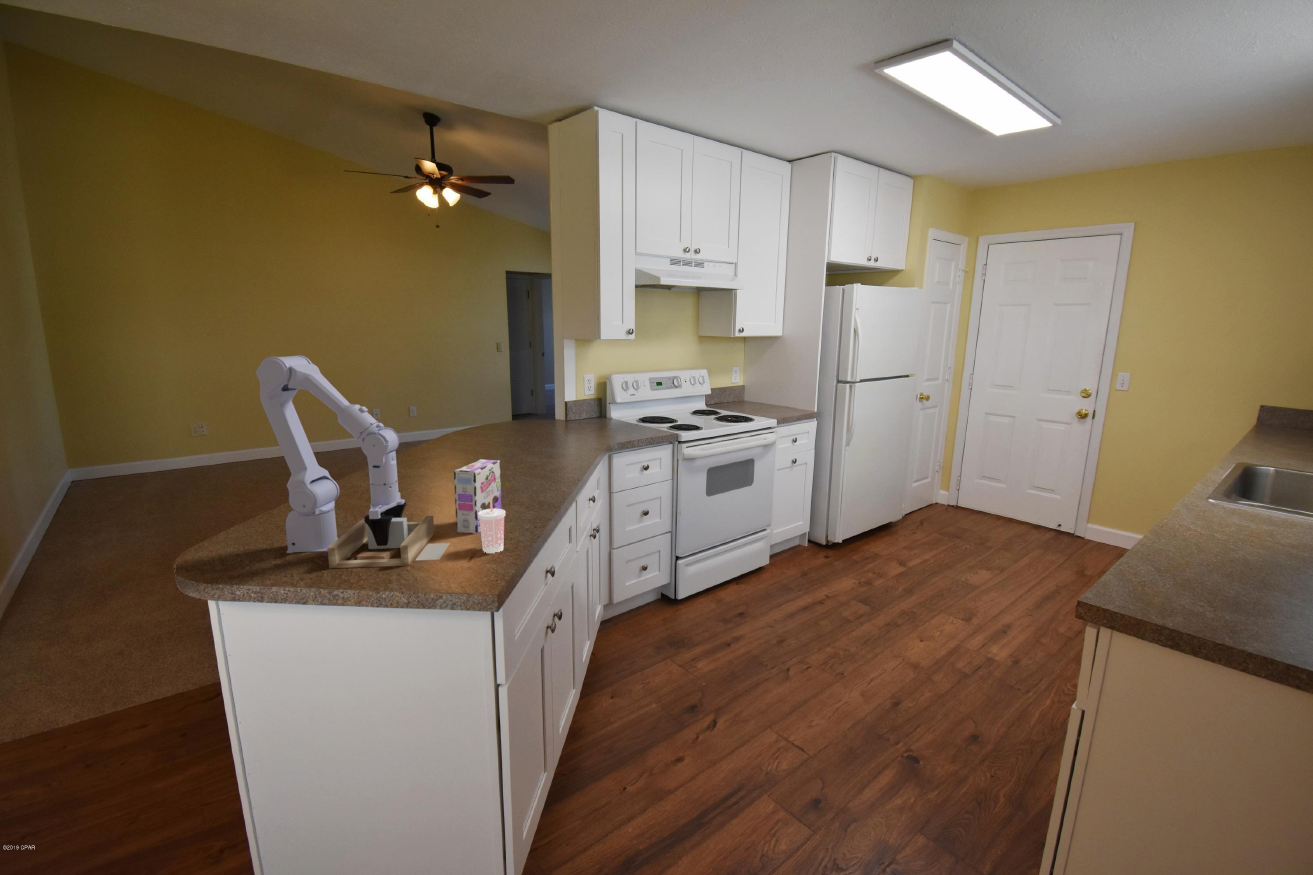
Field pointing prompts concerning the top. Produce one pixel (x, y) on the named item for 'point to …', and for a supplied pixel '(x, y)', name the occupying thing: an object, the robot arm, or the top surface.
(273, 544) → the top surface
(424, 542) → the rack
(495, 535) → the beverage cup
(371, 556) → the offcut short
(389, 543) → the panel
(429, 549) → the mat
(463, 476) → the candy box
